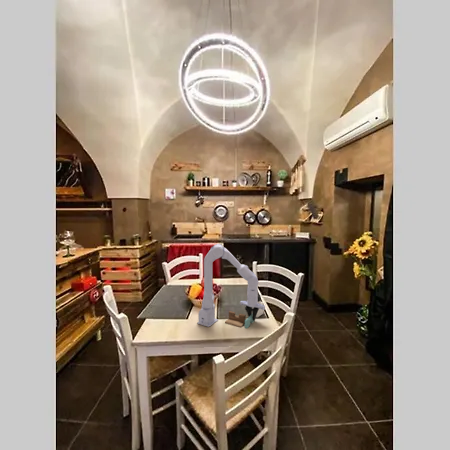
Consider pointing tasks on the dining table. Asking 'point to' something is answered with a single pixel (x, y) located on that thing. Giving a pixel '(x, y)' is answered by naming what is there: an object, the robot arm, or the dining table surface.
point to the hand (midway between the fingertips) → (252, 319)
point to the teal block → (249, 321)
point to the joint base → (236, 319)
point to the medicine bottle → (259, 309)
